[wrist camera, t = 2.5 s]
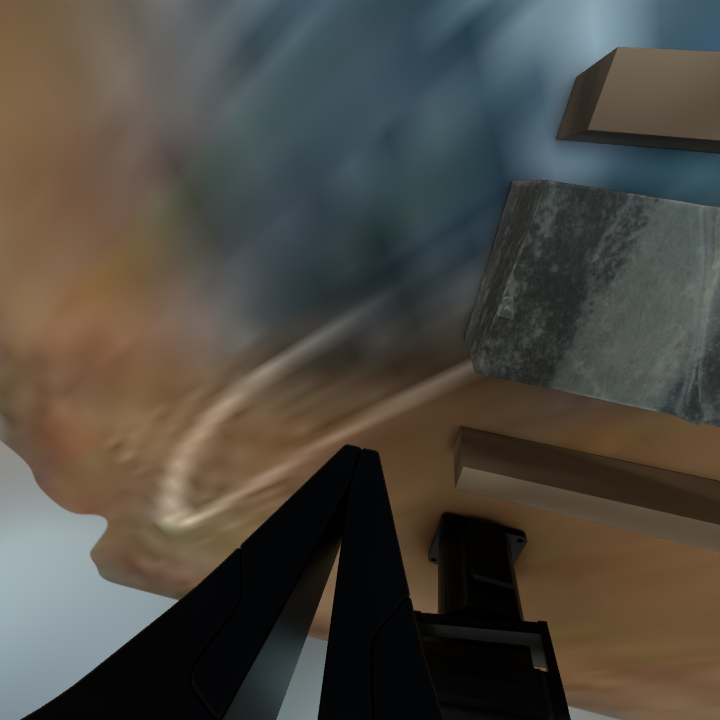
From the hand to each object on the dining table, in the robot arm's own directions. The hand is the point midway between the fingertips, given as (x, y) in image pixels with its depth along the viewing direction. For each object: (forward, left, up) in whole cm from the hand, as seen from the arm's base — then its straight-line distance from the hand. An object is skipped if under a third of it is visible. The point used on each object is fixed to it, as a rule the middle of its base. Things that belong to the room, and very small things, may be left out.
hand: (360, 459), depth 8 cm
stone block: (+2, -11, -12) cm, 17 cm away
